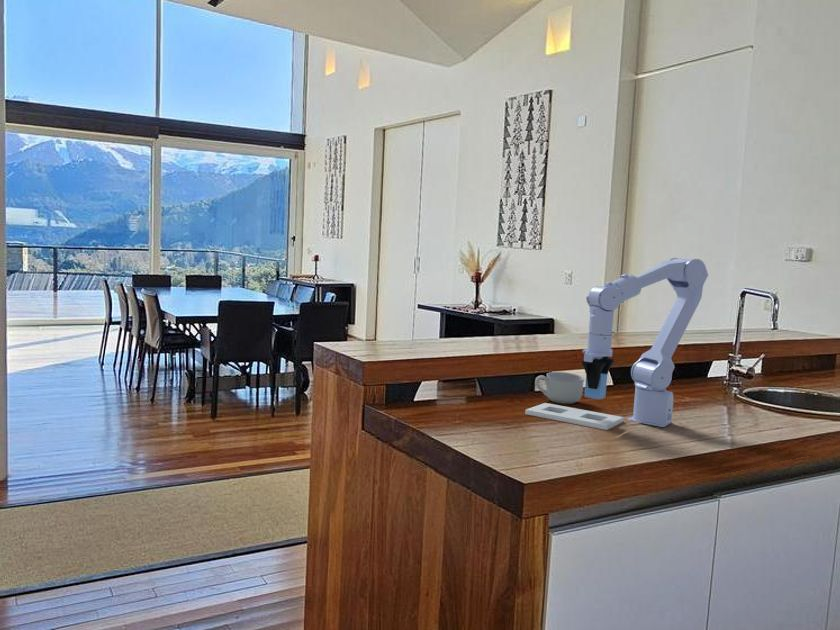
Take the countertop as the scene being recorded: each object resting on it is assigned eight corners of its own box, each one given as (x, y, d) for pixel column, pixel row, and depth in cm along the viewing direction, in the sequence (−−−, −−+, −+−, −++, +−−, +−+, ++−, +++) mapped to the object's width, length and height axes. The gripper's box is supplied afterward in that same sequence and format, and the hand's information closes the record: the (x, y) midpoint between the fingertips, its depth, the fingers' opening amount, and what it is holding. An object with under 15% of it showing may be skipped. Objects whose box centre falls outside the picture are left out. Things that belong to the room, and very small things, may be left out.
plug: (605, 397, 182) (607, 373, 181) (599, 399, 178) (601, 375, 178) (590, 394, 184) (592, 371, 183) (584, 396, 181) (586, 373, 180)
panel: (623, 423, 183) (623, 417, 183) (606, 431, 174) (607, 425, 173) (544, 408, 196) (545, 402, 196) (525, 415, 186) (525, 409, 186)
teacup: (579, 400, 210) (581, 373, 209) (584, 408, 199) (586, 380, 199) (532, 396, 211) (534, 370, 211) (534, 404, 201) (536, 376, 200)
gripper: (595, 330, 188) (591, 381, 189) (574, 334, 176) (569, 388, 177) (621, 333, 184) (617, 385, 185) (601, 337, 172) (597, 393, 173)
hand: (596, 387), depth 181 cm, fingers closed on plug, 4 cm apart
